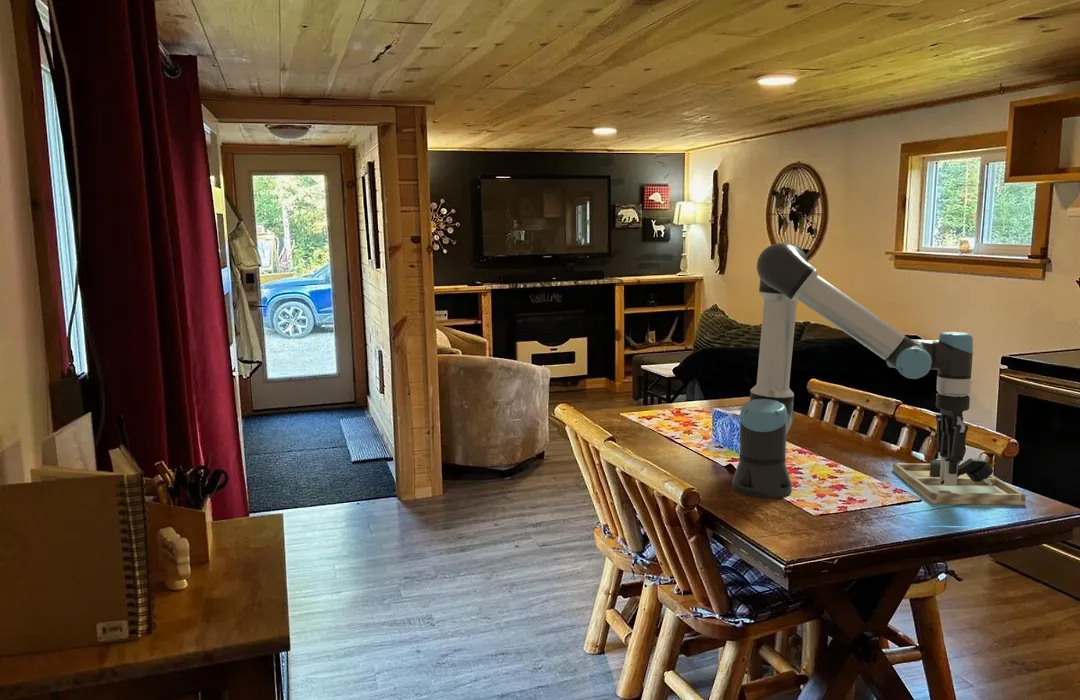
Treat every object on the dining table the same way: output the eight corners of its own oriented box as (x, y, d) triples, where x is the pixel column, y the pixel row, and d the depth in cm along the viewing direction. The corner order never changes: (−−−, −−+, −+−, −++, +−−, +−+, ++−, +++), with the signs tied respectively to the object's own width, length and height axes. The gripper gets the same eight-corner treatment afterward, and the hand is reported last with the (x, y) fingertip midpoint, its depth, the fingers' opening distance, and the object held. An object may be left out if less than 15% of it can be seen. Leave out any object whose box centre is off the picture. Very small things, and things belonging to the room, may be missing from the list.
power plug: (935, 478, 202) (976, 451, 199) (954, 501, 201) (995, 474, 199) (942, 483, 196) (984, 456, 194) (961, 507, 196) (1003, 480, 193)
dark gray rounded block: (936, 479, 208) (937, 466, 207) (925, 471, 215) (925, 459, 214) (963, 479, 207) (964, 467, 207) (950, 472, 214) (951, 459, 214)
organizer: (932, 503, 192) (932, 493, 192) (892, 471, 219) (893, 463, 219) (1025, 504, 191) (1025, 495, 190) (973, 472, 217) (974, 464, 217)
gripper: (983, 399, 187) (977, 493, 191) (955, 388, 202) (950, 475, 205) (950, 399, 188) (945, 492, 191) (925, 388, 203) (921, 475, 206)
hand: (947, 483), depth 198 cm, fingers closed on power plug, 2 cm apart
